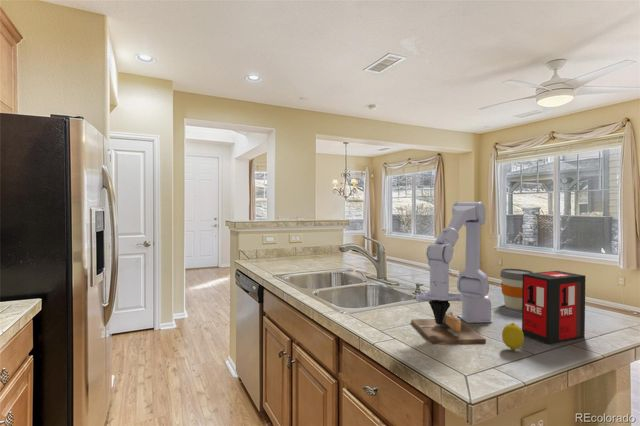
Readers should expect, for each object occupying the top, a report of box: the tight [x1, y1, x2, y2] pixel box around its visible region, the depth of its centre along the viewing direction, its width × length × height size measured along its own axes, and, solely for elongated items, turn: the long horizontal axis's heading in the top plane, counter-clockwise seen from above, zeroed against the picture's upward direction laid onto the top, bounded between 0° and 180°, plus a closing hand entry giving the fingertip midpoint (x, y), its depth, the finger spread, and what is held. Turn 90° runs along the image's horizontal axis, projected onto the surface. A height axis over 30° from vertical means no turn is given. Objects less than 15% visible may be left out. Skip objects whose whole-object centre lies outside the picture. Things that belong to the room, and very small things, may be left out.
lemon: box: [501, 322, 525, 351], centre depth 98 cm, size 6×6×8 cm
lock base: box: [410, 318, 487, 345], centre depth 112 cm, size 17×19×3 cm
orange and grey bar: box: [443, 310, 462, 331], centre depth 111 cm, size 12×5×3 cm, turn 6°
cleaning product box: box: [521, 270, 586, 346], centre depth 109 cm, size 16×9×20 cm, turn 110°
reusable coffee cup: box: [499, 268, 535, 311], centre depth 142 cm, size 12×13×15 cm
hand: (438, 323), depth 108 cm, fingers closed
